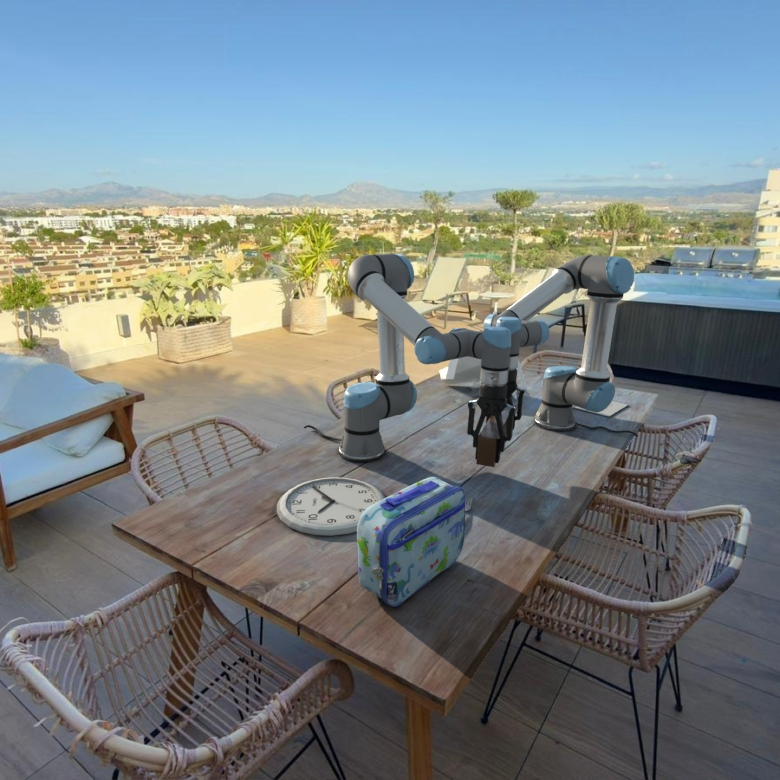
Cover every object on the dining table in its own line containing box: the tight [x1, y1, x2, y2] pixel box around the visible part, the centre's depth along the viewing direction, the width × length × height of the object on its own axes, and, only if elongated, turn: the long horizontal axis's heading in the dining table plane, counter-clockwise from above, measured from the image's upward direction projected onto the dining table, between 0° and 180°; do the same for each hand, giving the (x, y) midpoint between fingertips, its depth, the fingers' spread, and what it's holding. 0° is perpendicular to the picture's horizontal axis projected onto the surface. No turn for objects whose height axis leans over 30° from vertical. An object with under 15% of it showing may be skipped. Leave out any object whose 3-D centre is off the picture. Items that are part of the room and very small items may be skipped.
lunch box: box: [356, 476, 466, 608], centre depth 110 cm, size 26×11×21 cm, turn 134°
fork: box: [465, 496, 473, 512], centre depth 138 cm, size 3×16×2 cm, turn 160°
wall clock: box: [276, 476, 386, 537], centre depth 142 cm, size 30×2×30 cm
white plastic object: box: [438, 310, 531, 400], centre depth 245 cm, size 37×45×31 cm
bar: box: [476, 409, 509, 468], centre depth 159 cm, size 25×5×9 cm, turn 158°
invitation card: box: [573, 400, 629, 418], centre depth 226 cm, size 21×1×15 cm
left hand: (487, 459), depth 152 cm, fingers closed on bar, 5 cm apart
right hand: (499, 437), depth 169 cm, fingers closed on bar, 5 cm apart
